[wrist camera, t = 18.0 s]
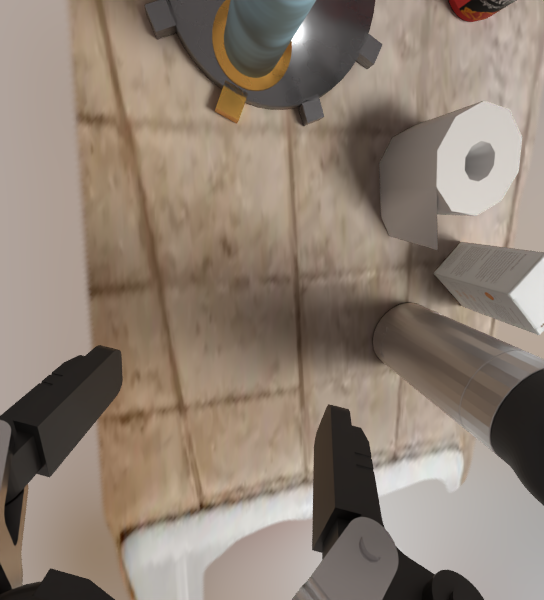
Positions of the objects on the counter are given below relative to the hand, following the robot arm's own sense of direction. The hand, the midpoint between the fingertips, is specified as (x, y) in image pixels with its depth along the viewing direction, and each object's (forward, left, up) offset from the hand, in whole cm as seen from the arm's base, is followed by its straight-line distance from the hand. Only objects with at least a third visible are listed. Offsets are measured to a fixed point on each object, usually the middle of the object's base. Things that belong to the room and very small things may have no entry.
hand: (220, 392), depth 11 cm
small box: (-34, +2, -23) cm, 41 cm away
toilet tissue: (-24, -10, -23) cm, 35 cm away
